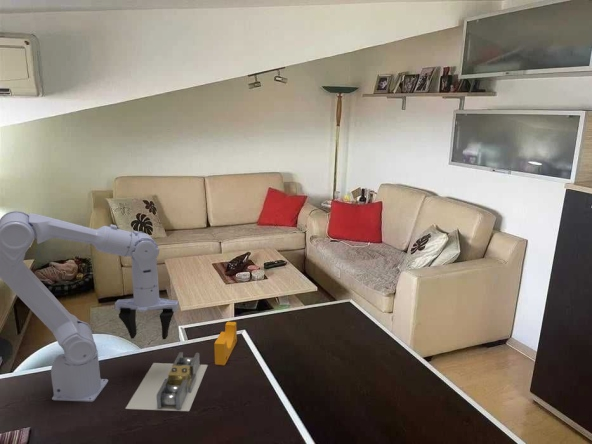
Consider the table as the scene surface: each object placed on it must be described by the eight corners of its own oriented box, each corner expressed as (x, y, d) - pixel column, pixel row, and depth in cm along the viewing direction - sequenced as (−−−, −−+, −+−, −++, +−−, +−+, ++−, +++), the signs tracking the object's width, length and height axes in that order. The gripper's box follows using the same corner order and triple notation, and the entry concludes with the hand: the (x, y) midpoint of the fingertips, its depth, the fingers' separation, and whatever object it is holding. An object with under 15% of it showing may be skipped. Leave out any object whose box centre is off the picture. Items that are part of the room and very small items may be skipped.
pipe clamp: (221, 342, 128) (221, 321, 126) (236, 343, 127) (236, 322, 125) (208, 365, 116) (207, 342, 114) (224, 366, 116) (224, 344, 114)
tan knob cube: (174, 380, 109) (173, 364, 108) (190, 380, 109) (190, 364, 108) (169, 390, 105) (168, 373, 104) (186, 390, 105) (185, 374, 104)
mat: (125, 409, 98) (125, 408, 98) (153, 364, 116) (153, 362, 116) (189, 412, 98) (189, 411, 98) (207, 365, 115) (207, 364, 115)
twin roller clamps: (154, 408, 98) (153, 394, 98) (177, 364, 115) (176, 352, 115) (183, 410, 98) (182, 396, 97) (202, 365, 115) (201, 352, 114)
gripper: (107, 290, 102) (112, 344, 106) (171, 291, 102) (174, 346, 106) (119, 279, 109) (124, 330, 112) (179, 280, 109) (182, 331, 112)
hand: (149, 336), depth 110 cm, fingers open, 7 cm apart
